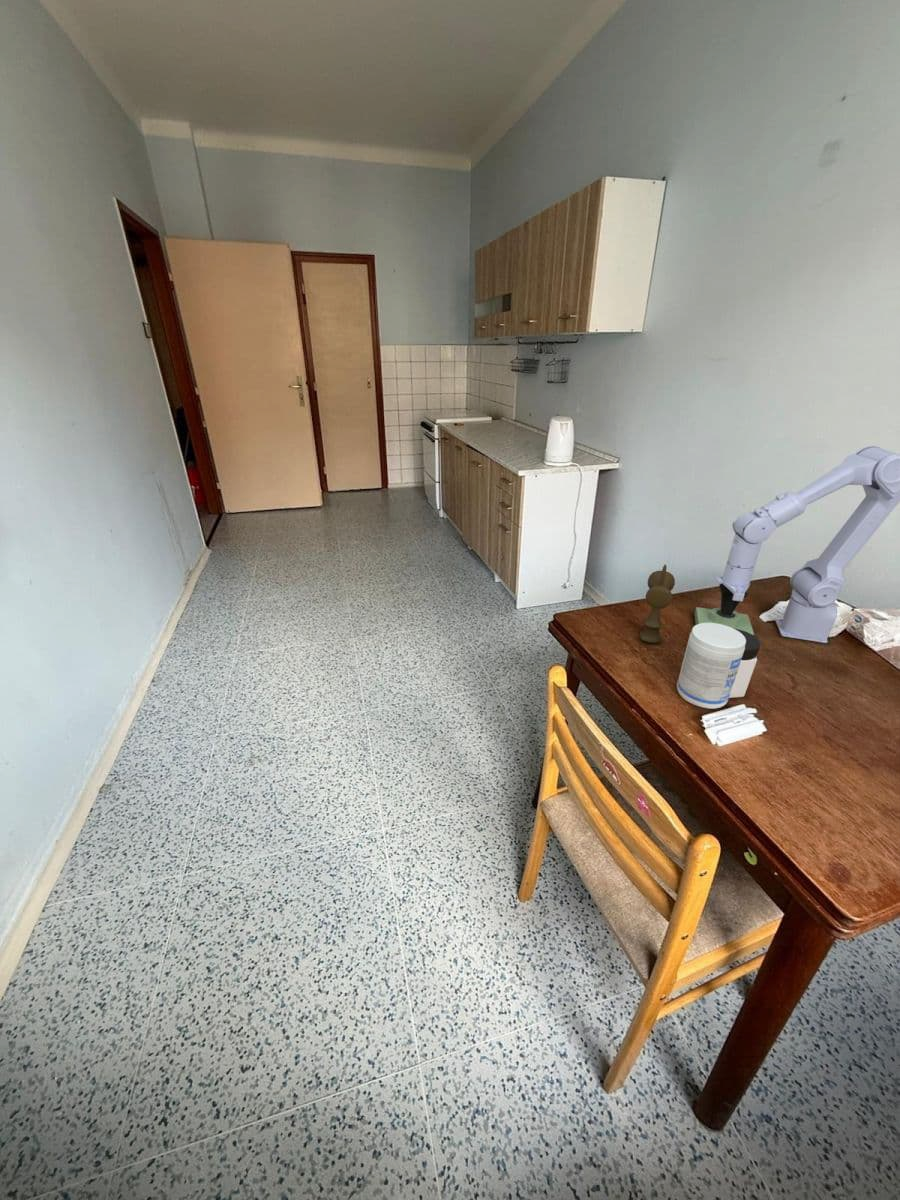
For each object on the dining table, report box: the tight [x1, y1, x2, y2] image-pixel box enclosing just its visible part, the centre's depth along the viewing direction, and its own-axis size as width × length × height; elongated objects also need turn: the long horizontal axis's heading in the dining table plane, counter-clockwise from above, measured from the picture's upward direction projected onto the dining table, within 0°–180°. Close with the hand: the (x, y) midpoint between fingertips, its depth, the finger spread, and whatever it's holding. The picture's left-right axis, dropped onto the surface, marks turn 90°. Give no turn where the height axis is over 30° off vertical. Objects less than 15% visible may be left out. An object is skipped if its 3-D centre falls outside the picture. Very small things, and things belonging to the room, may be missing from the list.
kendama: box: [638, 564, 676, 644], centre depth 111 cm, size 6×10×20 cm, turn 155°
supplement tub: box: [676, 623, 746, 710], centre depth 93 cm, size 10×10×15 cm
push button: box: [717, 610, 734, 618], centre depth 118 cm, size 4×4×2 cm
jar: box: [729, 628, 761, 699], centre depth 96 cm, size 9×8×12 cm
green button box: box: [694, 606, 755, 636], centre depth 119 cm, size 12×10×4 cm
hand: (725, 613), depth 118 cm, fingers closed, pressing on push button
